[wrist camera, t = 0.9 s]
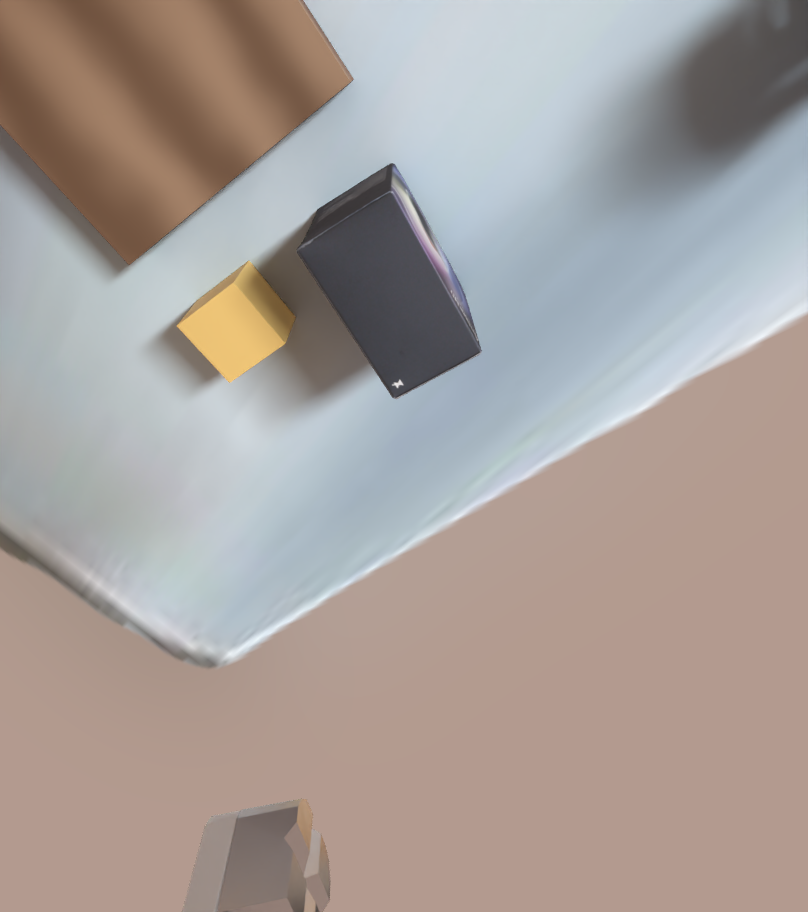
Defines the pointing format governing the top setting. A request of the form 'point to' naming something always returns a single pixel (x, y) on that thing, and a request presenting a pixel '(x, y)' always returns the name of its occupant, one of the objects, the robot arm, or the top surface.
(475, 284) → the top surface
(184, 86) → the base board
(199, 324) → the mustard block
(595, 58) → the top surface
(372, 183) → the small box
